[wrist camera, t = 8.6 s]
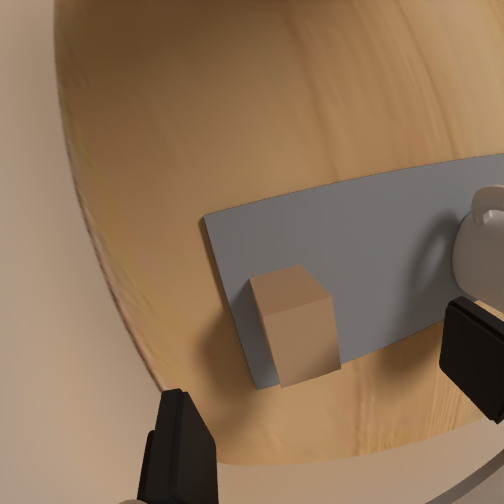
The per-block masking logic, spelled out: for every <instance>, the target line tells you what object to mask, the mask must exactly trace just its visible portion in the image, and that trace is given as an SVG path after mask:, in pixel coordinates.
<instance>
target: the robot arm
mask: <svg viewBox="0 0 504 504" xmlns="http://www.w3.org/2000/svg"><path fill="white" fill-rule="evenodd" d="M439 366H440V368H441V370H442V371H443V372H444V373H445V374H446V375H447V376H448V377H449V378H450V379H451V380H452V381H453V382H454V383H455V384H456V385H457V386H458V387H459V388H460V389H461V390H462V391H463V392H464V394H465V395H466V396H467V397H468V398H469V399H470V400H471V401H472V402H473V403H474V404H475V405H476V406H477V407H478V408H479V409H480V410H481V411H482V412H483V414H484V415H485V416H486V417H487V418H488V419H489V420H494V421H495V423H496V424H499V423H500V422H501V421H502V420H504V322H503V321H502V320H500V319H499V318H497V317H496V316H494V315H492V314H491V313H489V312H488V311H486V310H485V309H483V308H482V307H480V306H478V305H477V304H475V303H474V302H472V301H470V300H469V299H467V298H465V297H464V296H459V297H457V298H455V299H453V300H451V301H450V302H449V303H448V306H447V308H446V310H445V320H444V330H443V338H442V346H441V353H440V359H439ZM217 483H218V482H217V460H216V445H215V441H214V439H213V437H212V435H211V434H210V432H209V430H208V428H207V427H206V425H205V423H204V421H203V420H202V418H201V416H200V414H199V412H198V410H197V409H196V407H195V405H194V403H193V401H192V399H191V397H190V395H189V394H188V392H182V390H181V389H179V388H178V389H172V390H166V391H163V392H162V395H161V400H160V405H159V410H158V415H157V421H156V426H155V430H152V431H150V432H149V434H148V437H147V442H146V447H145V453H144V459H143V464H142V470H141V476H140V481H139V488H138V494H137V500H126V501H124V502H121V503H120V504H219V501H218V484H217ZM426 504H504V449H503V450H502V451H501V452H500V453H499V454H497V455H496V456H495V457H494V458H493V459H491V460H490V461H489V462H488V463H487V464H485V465H484V466H482V467H481V468H480V469H478V470H477V471H476V472H474V473H473V474H472V475H470V476H469V477H467V478H466V479H465V480H463V481H461V482H460V483H458V484H457V485H455V486H454V487H452V488H451V489H449V490H448V491H446V492H444V493H443V494H441V495H439V496H438V497H436V498H435V499H433V500H431V501H429V502H427V503H426Z"/></svg>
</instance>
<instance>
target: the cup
mask: <svg viewBox="0 0 504 504" xmlns="http://www.w3.org/2000/svg"><path fill="white" fill-rule="evenodd" d="M452 268H453V272H454V276H455V279H456V281H457V283H458V285H459V287H460V288H461V289H462V290H463V291H465V292H466V293H468V294H469V295H471V296H472V297H474V298H476V299H478V300H480V301H482V302H484V303H485V304H487V305H489V306H491V307H493V308H495V309H496V310H498V311H500V312H502V313H504V185H498V184H497V185H490V186H486V187H483V188H481V189H479V190H478V191H476V192H475V194H474V196H473V199H472V203H471V212H470V213H469V214H468V215H467V216H466V217H465V219H464V220H463V222H462V223H461V225H460V227H459V229H458V232H457V234H456V237H455V241H454V245H453V253H452Z"/></svg>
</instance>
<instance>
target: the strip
mask: <svg viewBox="0 0 504 504" xmlns="http://www.w3.org/2000/svg"><path fill="white" fill-rule="evenodd" d="M497 184H498V185H504V153H503V154H495V155H488V156H480V157H473V158H467V159H460V160H454V161H447V162H441V163H435V164H429V165H423V166H418V167H412V168H407V169H401V170H396V171H391V172H386V173H380V174H375V175H370V176H365V177H361V178H356V179H351V180H346V181H342V182H337V183H332V184H328V185H323V186H319V187H314V188H310V189H306V190H301V191H297V192H293V193H289V194H285V195H280V196H276V197H272V198H268V199H264V200H260V201H256V202H252V203H248V204H245V205H241V206H237V207H233V208H229V209H225V210H222V211H218V212H214V213H211V214H207V215H204V220H205V223H206V227H207V231H208V234H209V238H210V241H211V245H212V248H213V252H214V255H215V259H216V262H217V266H218V269H219V273H220V276H221V279H222V283H223V286H224V289H225V293H226V296H227V299H228V303H229V306H230V309H231V313H232V316H233V319H234V322H235V325H236V329H237V332H238V335H239V338H240V341H241V344H242V348H243V351H244V354H245V357H246V360H247V363H248V366H249V369H250V372H251V375H252V378H253V381H254V384H255V387H256V390H259V389H263V388H266V387H270V386H274V385H277V384H280V385H281V388H284V387H287V386H290V385H294V384H297V383H300V382H304V381H307V380H310V379H313V378H316V377H319V376H322V375H325V374H328V373H331V372H333V371H336V370H339V369H341V364H342V363H345V362H348V361H350V360H353V359H356V358H358V357H361V356H363V355H366V354H368V353H371V352H373V351H376V350H378V349H381V348H383V347H385V346H388V345H390V344H392V343H395V342H397V341H399V340H401V339H404V338H406V337H408V336H410V335H412V334H414V333H416V332H419V331H421V330H423V329H425V328H427V327H429V326H431V325H433V324H435V323H437V322H439V321H441V320H443V319H445V310H446V308H447V306H448V303H449V302H450V301H451V300H453V299H455V298H457V297H459V296H464V297H465V298H467V299H469V300H470V301H472V302H475V301H477V300H478V299H476V298H474V297H472V296H471V295H469V294H468V293H466V292H465V291H463V290H462V289H461V288H460V287H459V285H458V283H457V281H456V279H455V276H454V272H453V268H452V253H453V245H454V241H455V237H456V234H457V232H458V229H459V227H460V225H461V223H462V222H463V220H464V219H465V217H466V216H467V215H468V214H469V213H470V212H471V203H472V199H473V196H474V194H475V192H476V191H478V190H479V189H481V188H483V187H486V186H490V185H497Z"/></svg>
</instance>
